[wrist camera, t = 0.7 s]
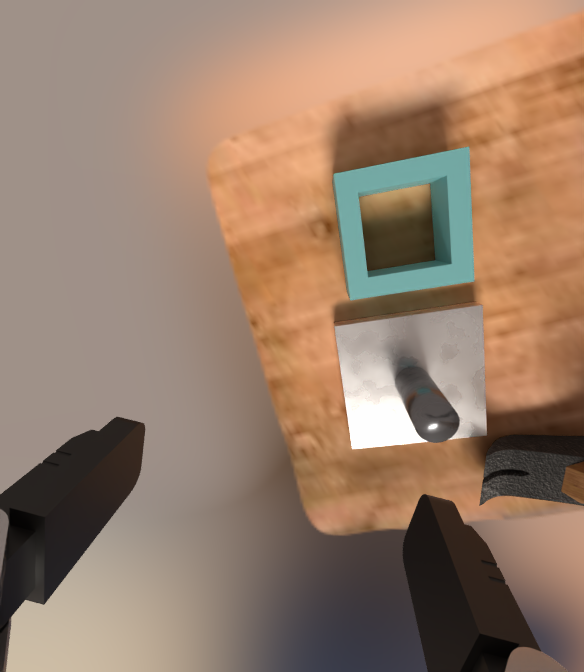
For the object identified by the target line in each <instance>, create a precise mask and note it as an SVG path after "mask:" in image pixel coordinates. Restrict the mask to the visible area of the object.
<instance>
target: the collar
mask: <svg viewBox="0 0 584 672" xmlns="http://www.w3.org/2000/svg"><path fill="white" fill-rule="evenodd" d="M332 182H333V190H334V197H335V205H336V212H337V220H338V228H339V235H340V243H341V250H342V258H343V265H344V273H345V280H346V288H347V293H348V296H349V298H350V300H356V299H362V298H369V297H375V296H382V295H388V294H395V293H401V292H408V291H414V290H421V289H427V288H434V287H440V286H447V285H453V284H460V283H466V282H473V281H474V258H473V232H472V207H471V181H470V155H469V147H465V148H460V149H455V150H450V151H445V152H440V153H435V154H430V155H425V156H420V157H415V158H410V159H405V160H400V161H395V162H390V163H385V164H380V165H375V166H370V167H365V168H360V169H355V170H350V171H345V172H340V173H335V174H334V175H333V181H332ZM429 183H430V189H431V204H432V219H433V234H434V249H435V260H433V261H427V262H421V263H414V264H408V265H402V266H396V267H390V268H384V269H378V270H372V271H367V265H366V256H365V248H364V239H363V230H362V222H361V213H360V205H359V197H361V196H366V195H372V194H377V193H382V192H387V191H393V190H398V189H403V188H408V187H414V186H419V185H424V184H429Z"/></svg>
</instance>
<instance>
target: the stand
mask: <svg viewBox="0 0 584 672" xmlns="http://www.w3.org/2000/svg"><path fill="white" fill-rule="evenodd" d="M334 327H335V334H336V341H337V348H338V355H339V361H340V368H341V375H342V382H343V389H344V396H345V403H346V409H347V416H348V423H349V430H350V437H351V444H352V449H357V448H367V447H377V446H387V445H397V444H407V443H417V442H427V441H428V442H433V443H438V442H443V441H446V440H448V439H457V438H467V437H477V436H487V424H486V394H485V364H484V334H483V305H481V304H479V303H477V302H469V303H462V304H455V305H448V306H442V307H435V308H428V309H421V310H414V311H407V312H401V313H394V314H387V315H380V316H373V317H367V318H360V319H353V320H346V321H339V322H334Z"/></svg>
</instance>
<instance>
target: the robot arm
mask: <svg viewBox="0 0 584 672" xmlns="http://www.w3.org/2000/svg"><path fill="white" fill-rule="evenodd" d="M144 436H145V425H144V423H141V422H137V421H133V420H128V419H124V418H120V417H116V418H114V419H113V420H111V421H110V422H109V423H108V424H107V425H106V426H104V427H103V428H102V429H101V430H100V431H95V430H90V431H87V432H85V433H83V434H80V435H78V436H76V437H73V438H71V439H70V440H69V441H68V442H66V443H65V444H64V445H62V446H61V447H60V448H59V449H57V450H56V453H52V454H51V455H50V456H49V457H47V458H46V459H45V460H44V461H43V463H42V464H41V463H40V464H38V465H37V466H36V467H35V468H33V469H32V470H31V471H30V472H28V473H27V474H26V475H24V476H23V477H22V478H21V479H19V480H18V481H17V482H16V483H14V484H13V485H12V486H11V487H9V488H8V489H7V490H5V491H4V492H3V493H2V494H0V672H6V665H7V656H8V647H9V639H10V630H11V616H12V615H13V614H14V613H15V611H16V610H17V609H18V608H19V606H21V604H22V603H23V602H24V601H25V600H29V601H32V602H36V603H40V604H43V605H44V604H45V603H46V602H47V600H48V599H49V598H50V596H51V595H52V594H53V592H54V591H55V590H56V588H57V587H58V586H59V585H60V583H61V582H62V581H63V579H64V578H65V577H66V576H67V574H68V573H69V572H70V570H71V569H72V568H73V566H74V565H75V564H76V563H77V561H78V560H79V559H80V557H81V556H82V555H83V554H84V552H85V551H86V550H87V548H88V547H89V546H90V544H91V543H92V542H93V541H94V539H95V538H96V536H97V535H98V534H99V533H100V531H101V530H102V529H103V528H104V526H105V525H106V524H107V522H108V521H109V520H110V519H111V517H112V516H113V515H114V513H115V512H116V510H117V509H118V508H119V507H120V506H121V504H122V503H123V502H124V500H125V499H126V498H127V496H128V495H129V494H130V493H131V491H132V490H133V488H134V486H135V485H136V482H137V480H138V477H139V475H140V471H141V464H142V454H143V445H144ZM403 563H404V568H405V571H406V577H407V581H408V585H409V590H410V594H411V599H412V603H413V608H414V612H415V616H416V621H417V626H418V630H419V634H420V638H421V643H422V648H423V652H424V657H425V661H426V665H427V670H428V672H568V671H567V670H566V669H565V668H564V667H562V666H561V665H560V664H559V663H558V662H556V661H555V660H554V659H552V658H551V657H549V656H548V655H546V654H544V653H542V652H541V650H540V648H539V646H538V644H537V642H536V640H535V638H534V636H533V634H532V632H531V630H530V628H529V626H528V624H527V622H526V620H525V618H524V616H523V614H522V612H521V610H520V608H519V607H518V605H517V603H516V601H515V599H514V597H513V595H512V593H511V591H510V589H509V587H508V585H506V584H505V579H504V577H503V575H502V573H501V571H500V569H499V568H497V563H496V561H495V559H494V557H493V555H492V553H491V551H490V549H489V547H488V546H487V544H486V543H485V542H484V540H483V539H482V538H481V537H480V536H479V535H478V534H477V532H476V531H475V530H474V529H473V528H472V527H471V526H469V525H465V524H464V523H463V521H462V519H461V516H460V514H459V512H458V510H457V508H456V506H455V504H454V503H453V502H452V501H450V500H446V499H442V498H438V497H434V496H430V495H426V494H424V495H422V496H421V497H420V499H419V501H418V504H417V506H416V509H415V512H414V514H413V517H412V519H411V522H410V524H409V527H408V529H407V532H406V535H405V538H404V542H403Z"/></svg>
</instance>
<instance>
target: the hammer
mask: <svg viewBox="0 0 584 672" xmlns="http://www.w3.org/2000/svg"><path fill="white" fill-rule="evenodd" d="M497 496H517V497H525V498H532V499H540V500H548V501H555V502H562V503H569V504H576V505H582V506H584V436H551V435H509V436H505V437H502V438H499V439H498V440H496V441H495V442H494V443H493V444H492V446H491V447H490V448H489V450H488V452H487V455H486V462H485V469H484V479H483V484H482V491H481V498H480V505H482V504H484V503H485V502H486V501H487V500H489V499H491V498H494V497H497Z"/></svg>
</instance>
